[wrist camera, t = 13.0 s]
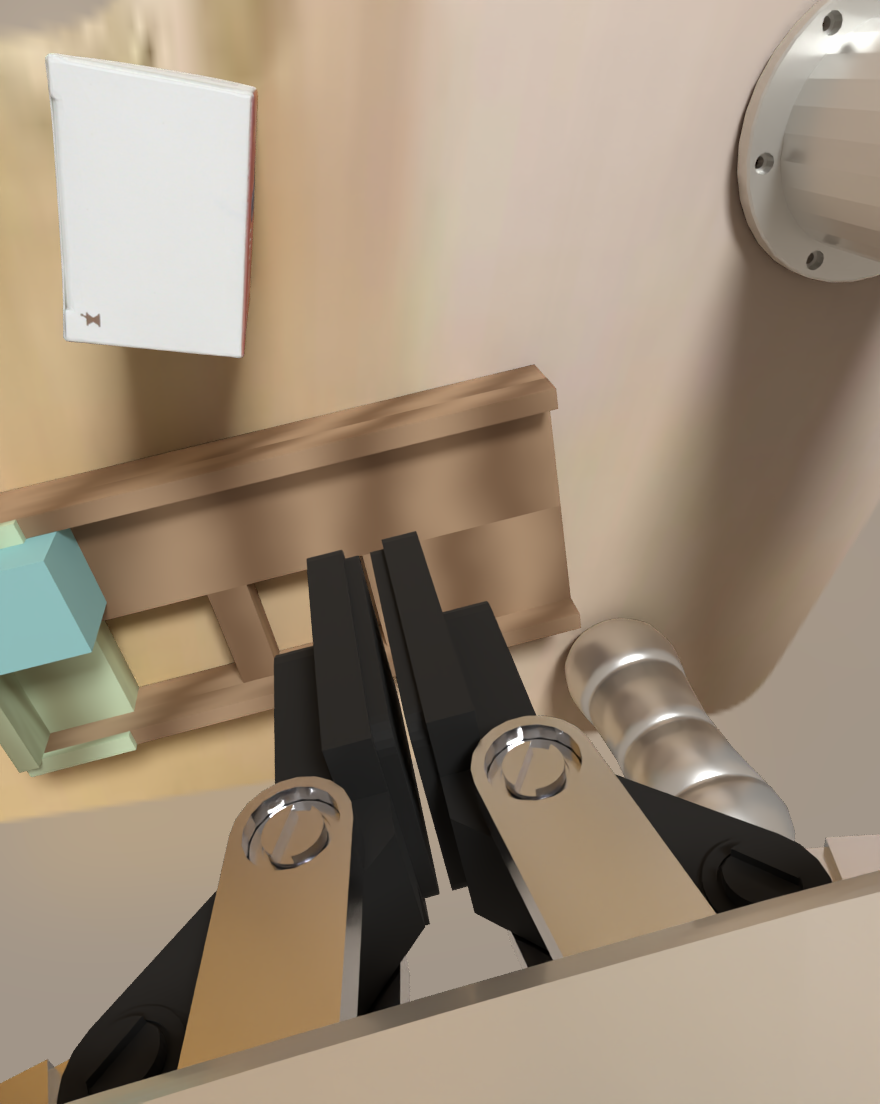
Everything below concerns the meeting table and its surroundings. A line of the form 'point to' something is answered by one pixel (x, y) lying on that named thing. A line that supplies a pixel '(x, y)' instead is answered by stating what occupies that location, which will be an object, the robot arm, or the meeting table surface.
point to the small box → (153, 205)
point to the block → (47, 602)
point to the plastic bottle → (663, 724)
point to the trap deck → (290, 548)
